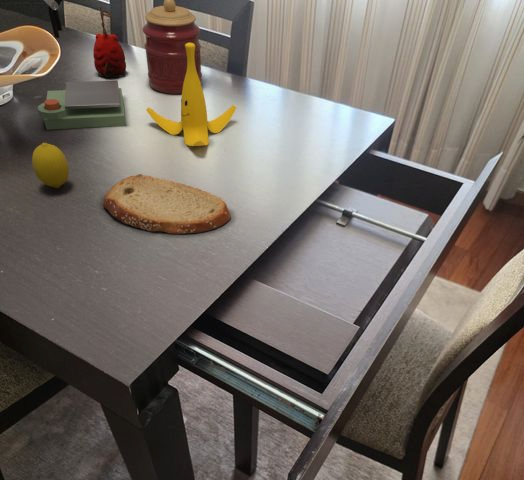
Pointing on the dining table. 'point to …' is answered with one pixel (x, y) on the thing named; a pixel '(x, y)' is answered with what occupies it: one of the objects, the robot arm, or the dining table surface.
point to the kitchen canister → (170, 46)
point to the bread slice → (165, 205)
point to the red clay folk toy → (108, 53)
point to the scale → (80, 114)
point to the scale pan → (92, 94)
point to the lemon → (50, 165)
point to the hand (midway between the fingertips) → (27, 37)
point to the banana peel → (193, 109)
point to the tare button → (52, 104)
